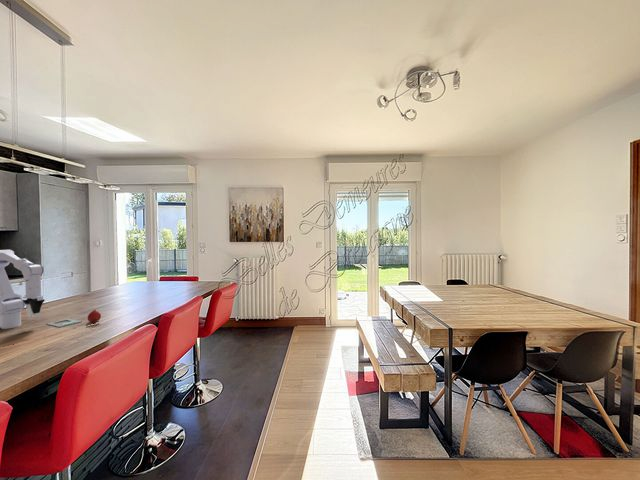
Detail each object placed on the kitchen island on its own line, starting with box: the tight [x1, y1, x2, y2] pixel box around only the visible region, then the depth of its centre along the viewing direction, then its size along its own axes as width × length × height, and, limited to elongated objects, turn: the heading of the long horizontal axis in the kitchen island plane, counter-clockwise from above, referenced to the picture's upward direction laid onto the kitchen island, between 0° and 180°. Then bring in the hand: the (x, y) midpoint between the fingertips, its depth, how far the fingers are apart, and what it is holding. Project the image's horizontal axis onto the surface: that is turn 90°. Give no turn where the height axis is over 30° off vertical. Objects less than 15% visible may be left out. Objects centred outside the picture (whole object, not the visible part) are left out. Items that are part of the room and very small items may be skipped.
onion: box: [87, 308, 102, 324], centre depth 154 cm, size 6×6×8 cm
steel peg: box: [25, 303, 43, 319], centre depth 144 cm, size 4×4×7 cm
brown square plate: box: [19, 324, 51, 333], centre depth 144 cm, size 9×9×1 cm
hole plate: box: [45, 318, 83, 328], centre depth 152 cm, size 14×10×2 cm
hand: (34, 312), depth 144 cm, fingers closed on steel peg, 4 cm apart
